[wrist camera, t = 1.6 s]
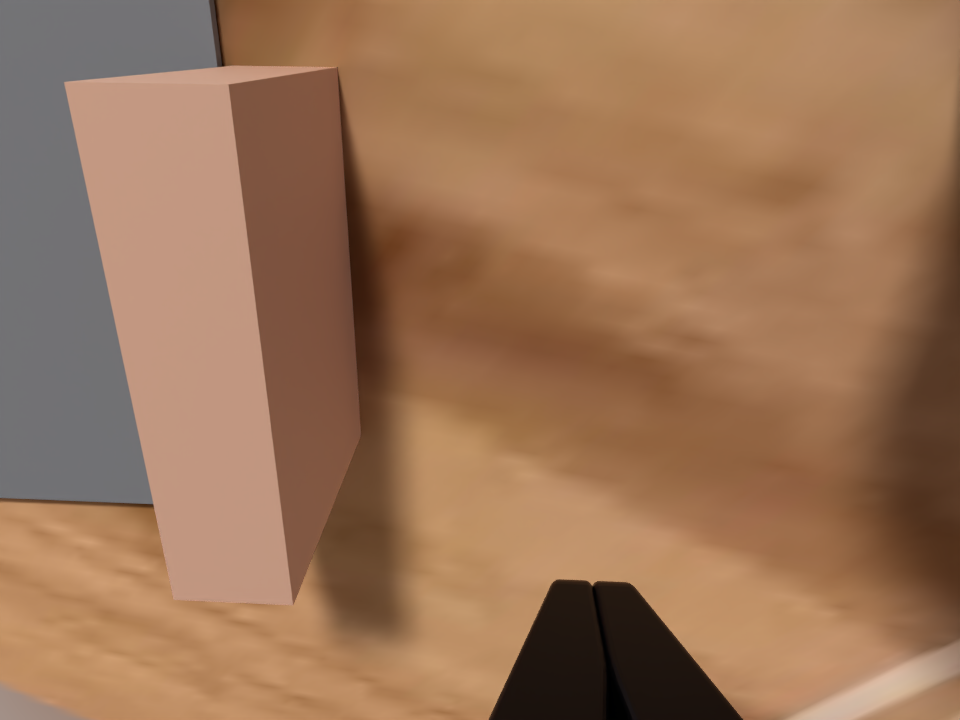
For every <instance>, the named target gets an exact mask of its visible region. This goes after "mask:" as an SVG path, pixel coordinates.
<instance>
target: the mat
mask: <svg viewBox="0 0 960 720" xmlns="http://www.w3.org/2000/svg"><path fill="white" fill-rule="evenodd" d="M215 67H222V61H221V53H220V45H219V37H218V29H217V21H216V13H215V5H214V0H0V498H16V499H41V500H65V501H90V502H114V503H139V504H153V499H152V495H151V490H150V485H149V481H148V476H147V471H146V466H145V462H144V457H143V452H142V448H141V443H140V438H139V433H138V429H137V424H136V419H135V414H134V410H133V405H132V400H131V396H130V391H129V386H128V381H127V377H126V372H125V367H124V363H123V358H122V353H121V348H120V344H119V339H118V334H117V330H116V325H115V320H114V315H113V311H112V306H111V301H110V297H109V292H108V287H107V282H106V278H105V273H104V268H103V263H102V259H101V254H100V249H99V245H98V240H97V235H96V230H95V226H94V221H93V216H92V212H91V207H90V202H89V197H88V193H87V188H86V183H85V179H84V174H83V169H82V164H81V160H80V155H79V150H78V146H77V141H76V136H75V131H74V127H73V122H72V117H71V113H70V108H69V103H68V98H67V94H66V89H65V84H64V82H69V81H80V80H90V79H100V78H111V77H121V76H132V75H142V74H153V73H163V72H173V71H184V70H194V69H205V68H215Z"/></svg>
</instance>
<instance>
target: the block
mask: <svg viewBox="0 0 960 720" xmlns="http://www.w3.org/2000/svg"><path fill="white" fill-rule="evenodd" d="M64 84H65V89H66V94H67V98H68V103H69V108H70V113H71V117H72V122H73V127H74V131H75V136H76V141H77V146H78V150H79V155H80V160H81V164H82V169H83V174H84V179H85V183H86V188H87V193H88V197H89V202H90V207H91V212H92V216H93V221H94V226H95V230H96V235H97V240H98V245H99V249H100V254H101V259H102V263H103V268H104V273H105V278H106V282H107V287H108V292H109V297H110V301H111V306H112V311H113V315H114V320H115V325H116V330H117V334H118V339H119V344H120V348H121V353H122V358H123V363H124V367H125V372H126V377H127V381H128V386H129V391H130V396H131V400H132V405H133V410H134V414H135V419H136V424H137V429H138V433H139V438H140V443H141V448H142V452H143V457H144V462H145V466H146V471H147V476H148V481H149V485H150V490H151V495H152V499H153V504H154V509H155V514H156V518H157V523H158V528H159V532H160V537H161V542H162V547H163V551H164V556H165V561H166V565H167V570H168V575H169V580H170V584H171V589H172V594H173V599H174V600H190V601H212V602H234V603H255V604H277V605H293V604H294V602H295V599H296V597H297V594H298V592H299V589H300V587H301V584H302V582H303V579H304V577H305V574H306V572H307V569H308V567H309V564H310V562H311V559H312V557H313V554H314V552H315V549H316V547H317V544H318V542H319V539H320V537H321V534H322V532H323V529H324V527H325V524H326V522H327V519H328V517H329V514H330V512H331V509H332V507H333V504H334V502H335V499H336V497H337V494H338V492H339V490H340V487H341V485H342V482H343V480H344V477H345V475H346V472H347V470H348V467H349V465H350V462H351V460H352V457H353V455H354V452H355V450H356V447H357V445H358V442H359V440H360V437H361V423H360V408H359V392H358V377H357V362H356V346H355V331H354V316H353V300H352V285H351V269H350V254H349V239H348V223H347V208H346V193H345V177H344V162H343V146H342V131H341V116H340V100H339V85H338V70H337V67H286V66H226V67H215V68H205V69H194V70H184V71H173V72H163V73H153V74H142V75H132V76H121V77H111V78H100V79H90V80H80V81H69V82H64Z"/></svg>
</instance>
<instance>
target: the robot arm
mask: <svg viewBox="0 0 960 720" xmlns="http://www.w3.org/2000/svg"><path fill="white" fill-rule="evenodd" d="M489 720H743V719H742V718H741V716H740V715H739V714H738V713H737V712H736V710H735V709H734V708H733V707H732V705H731V704H730V703H729V702H728V701H727V699H726V698H725V697H724V696H723V694H722V693H721V692H720V691H719V690H718V688H717V687H716V686H715V685H714V683H713V682H712V681H711V680H710V679H709V677H708V676H707V675H706V674H705V672H704V671H703V670H702V669H701V668H700V666H699V665H698V664H697V663H696V661H695V660H694V659H693V658H692V657H691V655H690V654H689V653H688V652H687V651H686V649H685V648H684V647H683V646H682V644H681V643H680V642H679V641H678V640H677V638H676V637H675V636H674V635H673V633H672V632H671V631H670V630H669V629H668V627H667V626H666V625H665V624H664V622H663V621H662V620H661V619H660V618H659V616H658V615H657V614H656V613H655V611H654V610H653V609H652V608H651V607H650V605H649V604H648V603H647V602H646V600H645V599H644V598H643V597H642V596H641V594H640V593H639V592H638V591H637V589H636V588H635V587H634V586H633V585H631V584H630V583H626V582H606V581H597V582H595V583H594V584H593V586H592V585H591V584H590V583H589V582H588V581H583V580H560V579H559V580H556V581H554V582H553V583H552V584H551V586H550V588H549V591H548V593H547V595H546V597H545V599H544V601H543V604H542V606H541V608H540V610H539V612H538V614H537V617H536V619H535V621H534V623H533V625H532V627H531V629H530V632H529V634H528V636H527V638H526V640H525V642H524V645H523V647H522V649H521V651H520V653H519V655H518V657H517V660H516V662H515V664H514V666H513V668H512V670H511V673H510V675H509V677H508V679H507V681H506V683H505V686H504V688H503V690H502V692H501V694H500V696H499V698H498V701H497V703H496V705H495V707H494V709H493V711H492V714H491V716H490V718H489Z"/></svg>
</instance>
